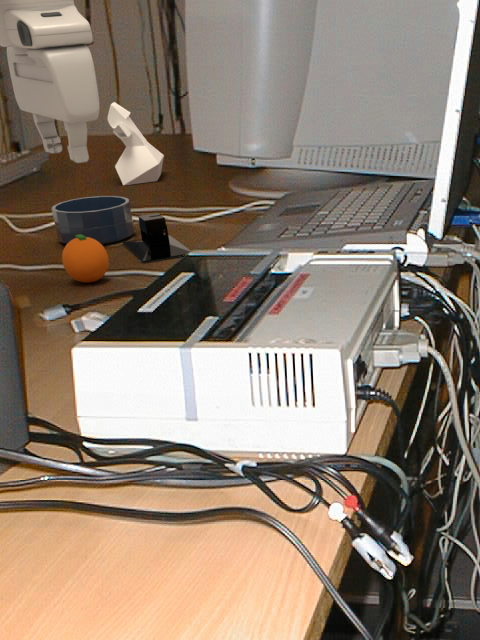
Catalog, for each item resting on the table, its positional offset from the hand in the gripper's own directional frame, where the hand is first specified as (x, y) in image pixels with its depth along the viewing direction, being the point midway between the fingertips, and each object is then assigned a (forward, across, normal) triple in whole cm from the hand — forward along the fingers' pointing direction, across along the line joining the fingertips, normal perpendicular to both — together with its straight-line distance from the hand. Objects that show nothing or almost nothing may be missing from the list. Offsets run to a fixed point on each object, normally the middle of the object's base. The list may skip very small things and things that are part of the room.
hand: (66, 157), depth 108 cm
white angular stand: (+16, -63, +32) cm, 72 cm away
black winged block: (+15, -9, +12) cm, 22 cm away
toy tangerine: (+12, 0, -1) cm, 12 cm away
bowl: (+15, -22, +8) cm, 28 cm away
